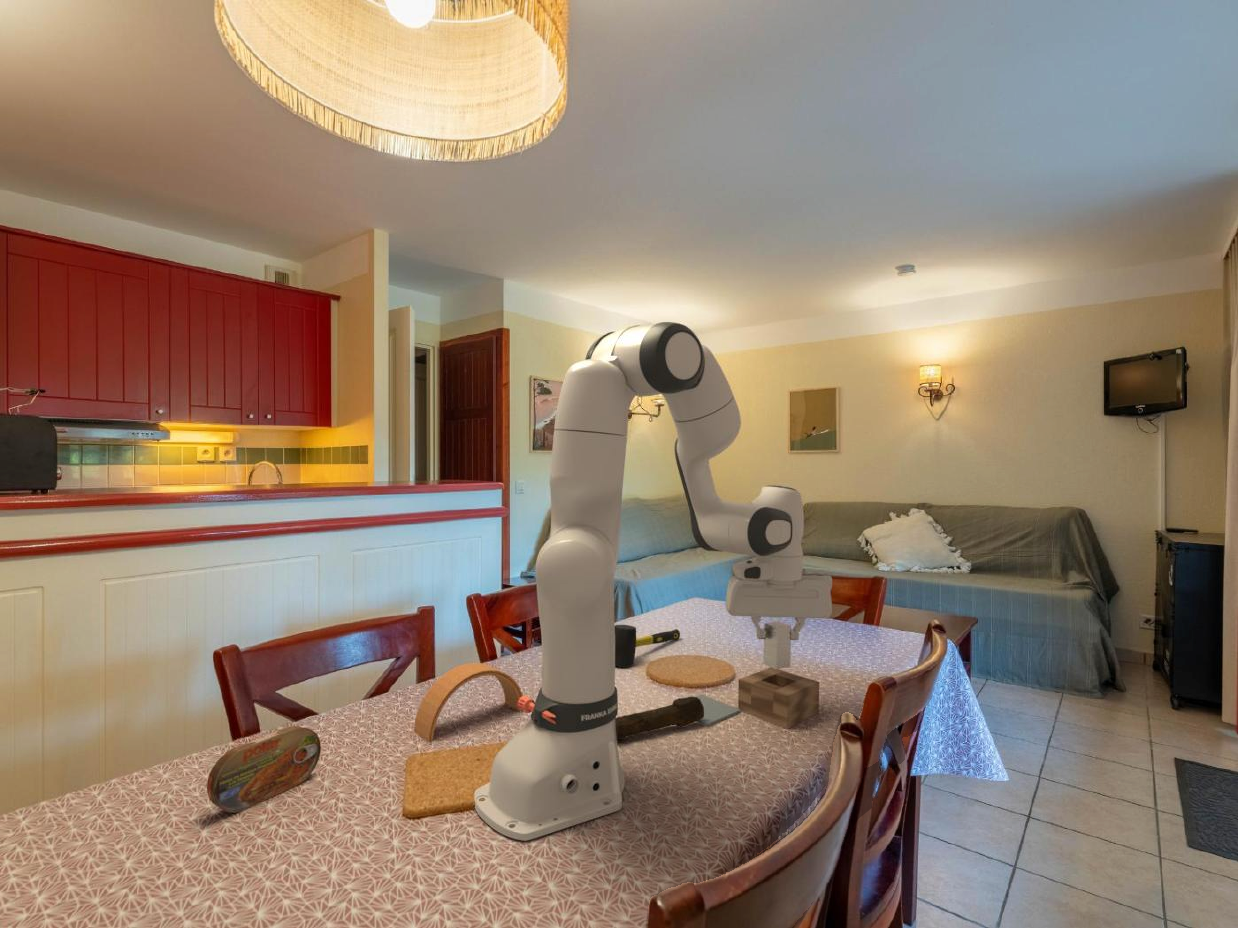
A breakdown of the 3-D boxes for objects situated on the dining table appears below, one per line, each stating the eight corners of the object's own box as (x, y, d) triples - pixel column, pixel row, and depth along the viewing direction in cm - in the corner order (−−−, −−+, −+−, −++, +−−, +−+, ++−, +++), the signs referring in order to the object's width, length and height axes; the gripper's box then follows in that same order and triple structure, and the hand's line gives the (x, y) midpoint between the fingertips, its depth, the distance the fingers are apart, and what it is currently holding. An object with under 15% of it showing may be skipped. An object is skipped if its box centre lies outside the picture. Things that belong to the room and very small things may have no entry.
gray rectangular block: (776, 669, 115) (777, 627, 115) (763, 663, 118) (764, 623, 118) (790, 666, 116) (791, 625, 116) (777, 661, 120) (778, 621, 120)
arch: (413, 731, 107) (414, 676, 107) (508, 702, 121) (509, 652, 121) (428, 743, 103) (428, 685, 103) (525, 710, 117) (525, 659, 117)
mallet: (667, 637, 166) (667, 603, 166) (686, 641, 163) (686, 606, 163) (604, 666, 142) (605, 626, 142) (625, 671, 139) (626, 630, 139)
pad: (707, 726, 110) (707, 723, 110) (668, 709, 117) (668, 706, 117) (740, 712, 117) (740, 709, 117) (701, 696, 124) (701, 694, 124)
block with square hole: (786, 728, 109) (787, 696, 109) (738, 709, 118) (738, 679, 118) (818, 712, 117) (819, 681, 117) (770, 695, 125) (771, 666, 125)
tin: (214, 824, 79) (214, 761, 79) (203, 817, 81) (203, 755, 81) (322, 774, 92) (322, 720, 92) (310, 769, 94) (310, 715, 94)
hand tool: (615, 746, 102) (614, 719, 102) (606, 735, 106) (606, 709, 106) (711, 725, 109) (711, 700, 109) (700, 716, 113) (700, 692, 113)
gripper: (827, 567, 120) (825, 635, 120) (725, 564, 120) (723, 632, 120) (838, 572, 114) (836, 645, 114) (730, 569, 114) (728, 642, 114)
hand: (777, 639), depth 117 cm, fingers closed on gray rectangular block, 5 cm apart
